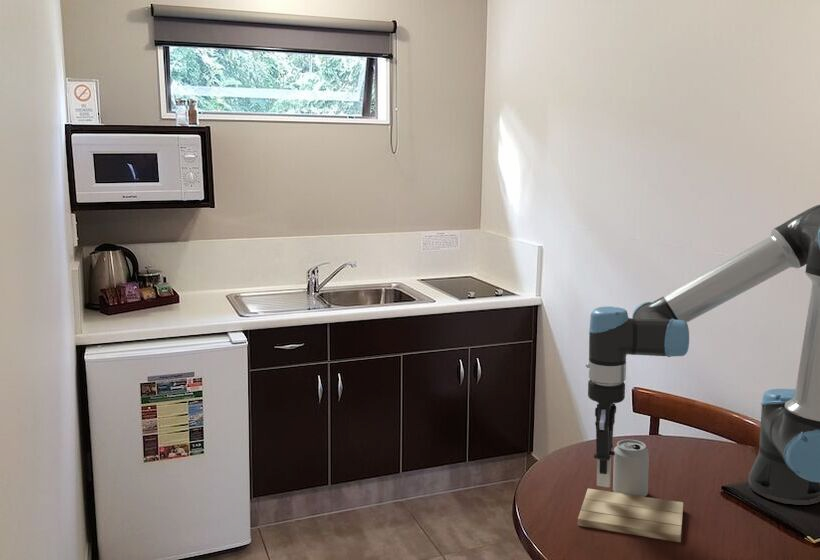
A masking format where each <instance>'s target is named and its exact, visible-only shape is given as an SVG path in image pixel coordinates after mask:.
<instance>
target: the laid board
mask: <svg viewBox="0 0 820 560" xmlns="http://www.w3.org/2000/svg"><path fill="white" fill-rule="evenodd" d="M577 526H578V527H585V528H591V529H596V530H604V531H610V532H616V533H620V534H621V533H622V534H627V535H634V536H640V537H645V538H652V539H659V540H662V541H663V540H664V541H670V542H676V543H681V542H682V530H681V529H682V528H683V524H682V525H675V524H669V523H663V522H656V521H650V520H644V519H638V518H631V517H625V516H619V515H612V514H606V513H600V512H593V511H587V510H581V509H580V511H579V514H578V517H577Z"/></svg>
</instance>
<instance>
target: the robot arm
mask: <svg viewBox="0 0 820 560" xmlns="http://www.w3.org/2000/svg"><path fill="white" fill-rule="evenodd" d="M804 266H805V272H804V273H805V274H806V276H807V277H808V278H809V279H810V280H811V282H812V285H811V289H810V297H809V303H808V309H807V315H806V321H805V327H804V328H805V329H804V335H803V341H802V348H801V354H800V361H799V366H798V372H797V373H798V374H797V380H796V384H795V385H796V386H795V389H794V388H771V389H769V390H768V389H767V390H766V391H765V392H764V393H763V394H762V400H761V403H760V405H761V410H760V427H759V428H760V430H759V444H758V445H759V449H758V454H757V457H756V458H755V461H754V463H753V465H752V467H751V469H750V472H749V474H748V482H749V484H750V485H751V486H752V487H753V488H755V489H756V490H758V491H760V492H762V493H765V494H768V495H771V496H775V497H778V498H784V499H790V500H810V499H814V498H817V497H818V496H820V204H816V205H814V206H812V207H810V208H808V209H806V210H804V211H802V212H801V213H799V214H797V215H795V216H793V217H792V218H790V219H788V220H786V221H785V222H784V223H783V222H782V224H780V225H778V226H777V227H774V228H773V229H772V230H771V232H770V235H769V237H767V238H765V239H763V240H761V241H760V242H758V243H756V244H754V245H752V246H751V247H749V248H747V249H746V250H744V251H742V252H739V254H737V255H735V256H732V257H731V258H729V259H727V260H725V261H723V262H722V263H720V264H719V265H717V266H715V267H713V268H712V269H710V270H708V271H706V272H705V273H702V274H701V275H699V276H697V277H696V278H693V279H692V280H690V281H688V282H687V283H685V284H682V285H681V286H680V287H678V288H676V289H674V290H672V291H670V292H668V293H667V294H664V295H663V296H661V297H660V298H658V299H656V300H654V301H652V302H651V301H646V302H642V303H640V304H639V305H637V306H636V307H635V308H634V310H633V312H632V315H631V316H632V317H631V318H630V317H629V315H628V311H627V310H626V309H625V308H623V307H618V306H617V307H616V306H615V307H614V306H599V307H596V308H594V309H593V310H592V311H591V313H590V320H589V328H588V329H589V331H588V332H589V333H588V334H589V335H588V336H589V337H588V338H589V341H588V346H589V347H588V360H589V361H588V363H586V364H585V367H586V369H588V379H589V380H588V383H587V396H588V398H589V400H592V401H593V402H596V407H595V408H594V409H595V410H594V415H595V422H594V423H595V424H594V425H595V433H596V435H595V440H596V443H595V446H596V453H594V455H593V459H596V462H597V464H596V486H597V487H603V488H610V487H611V478H612V476H611V475H612V474H611V472H612V471H611V470H612V457H614V455H615V452H614V450H613V451H612V449H613V447H614V446H613V438H614V437H613V436H614V425H615V422H616V421H615V419H616V418H615V417H616V413H617V405H616V404H618V403H621V402H623V401H624V400H625V397H626V396H625V393H626V383H625V381H626V379H627V377H626V376H627V374H626V373H627V355H631V356H633V355H634V356H651V357H655V356H656V357H666V358H667V357H668V358H670V357H683V356H685V355H687V354H688V352H689V347H690V329H689V324H688V323H690V322H691V321H693V320H695V319H697V318H699V317H701V316H702V315H704V314H706V313H708V312H710V311H713V309H715V308H718V307H719V306H720V305H722V304H725V303H726V302H728V301H730V300H733V299H734V298H736V297H737V296H740V295H741V294H743V293H746V292H747V291H749V290H750V289H752V288H755V287H757V286H758V285H760V284H761V283H764V282H766V281H768V280H770V279H771V278H773V277H774V276H777V275H778V274H781V273H782V272H784V271H786V270H788V269H790V268H793V269H800V268H802V267H804Z"/></svg>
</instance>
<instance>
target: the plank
mask: <svg viewBox="0 0 820 560" xmlns="http://www.w3.org/2000/svg"><path fill="white" fill-rule="evenodd" d="M582 501H583V502H582V505H581V508H580V511H581V510H587V511H593V512H600V513H606V514H612V515H619V516H625V517H631V518H638V519H644V520H650V521H656V522H663V523H669V524H675V525H682V526H683V514H684V513H683V512H684V502H683V501H677V500H676V501H674V500H670V499H662V498H657V497H649V496H648V497H647V496H645V497H643V496H636V495H629V494H622V493H616V492H614V491H608V490H600V489H595V488H587V490H586V493H585V496H584V500H582ZM681 531H682V529H681Z"/></svg>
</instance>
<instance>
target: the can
mask: <svg viewBox="0 0 820 560" xmlns="http://www.w3.org/2000/svg"><path fill="white" fill-rule="evenodd" d="M613 452H615V455H614V456H613V470H612V472H613V474H612V478H613V479H612V492H616V493H622V494H629V495H636V496H643V497H647V496H648V491H649V469H650V468H649V466H650V465H649V464H650V461H649V459H650V457H649V455H650V451H649V450H648V449H647V445H646V443H644V442H643V441H640V440H637V439H629V438H628V439H622V440H619V441H617V442H616V446H615V447H614V449H613Z"/></svg>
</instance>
